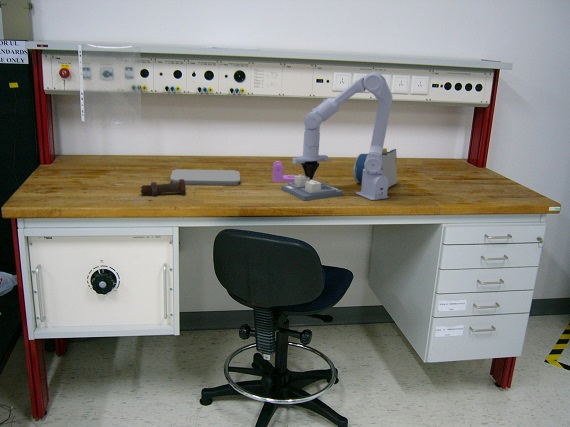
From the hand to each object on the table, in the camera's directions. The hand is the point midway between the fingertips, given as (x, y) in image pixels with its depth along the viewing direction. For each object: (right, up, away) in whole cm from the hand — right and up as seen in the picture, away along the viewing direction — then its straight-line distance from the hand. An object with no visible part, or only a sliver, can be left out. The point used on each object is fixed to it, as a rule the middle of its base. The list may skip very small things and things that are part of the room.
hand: (308, 181), depth 211 cm
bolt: (-51, -6, -14) cm, 54 cm away
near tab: (+1, -4, -8) cm, 9 cm away
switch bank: (+1, -4, -3) cm, 5 cm away
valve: (+26, -1, +12) cm, 28 cm away
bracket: (-7, +1, +12) cm, 14 cm away
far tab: (-3, -2, -1) cm, 3 cm away
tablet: (-39, 0, +7) cm, 40 cm away
